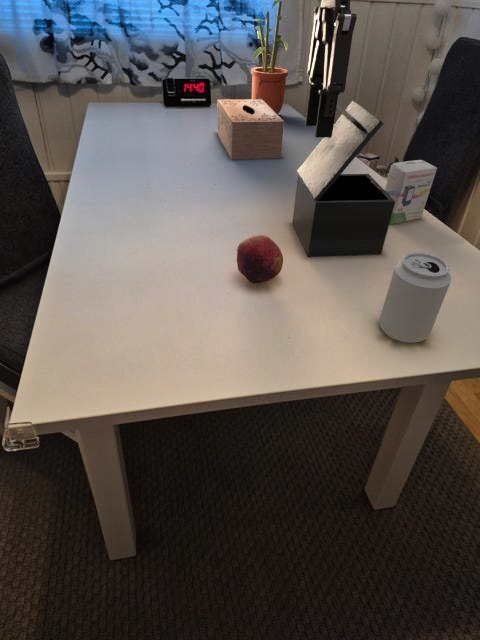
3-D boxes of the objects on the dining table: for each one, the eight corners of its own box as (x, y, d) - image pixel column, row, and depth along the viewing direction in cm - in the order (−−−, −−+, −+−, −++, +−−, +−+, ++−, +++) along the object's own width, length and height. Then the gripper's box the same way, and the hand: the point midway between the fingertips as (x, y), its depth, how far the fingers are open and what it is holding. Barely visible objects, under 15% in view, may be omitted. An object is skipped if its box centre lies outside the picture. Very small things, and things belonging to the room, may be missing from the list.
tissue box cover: (280, 158, 128) (284, 121, 121) (231, 159, 125) (232, 122, 119) (260, 132, 147) (262, 99, 141) (217, 133, 145) (217, 99, 139)
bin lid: (355, 103, 81) (322, 71, 77) (383, 123, 70) (346, 88, 66) (299, 173, 88) (266, 147, 84) (317, 201, 77) (280, 174, 73)
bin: (357, 223, 96) (368, 173, 89) (381, 254, 86) (395, 201, 79) (292, 224, 94) (298, 174, 88) (307, 257, 84) (315, 202, 77)
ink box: (406, 210, 102) (421, 158, 95) (422, 219, 99) (438, 166, 91) (376, 215, 99) (389, 162, 92) (391, 225, 96) (406, 171, 89)
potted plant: (291, 116, 165) (303, 0, 143) (264, 123, 156) (272, 1, 134) (256, 107, 174) (262, -3, 153) (228, 113, 165) (230, -3, 144)
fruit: (283, 272, 79) (288, 231, 74) (276, 296, 73) (281, 253, 68) (241, 265, 80) (242, 225, 76) (230, 288, 75) (232, 246, 70)
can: (432, 350, 64) (461, 280, 57) (379, 342, 65) (400, 273, 58) (424, 318, 70) (449, 251, 63) (376, 312, 71) (395, 245, 63)
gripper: (299, -43, 69) (285, 116, 83) (335, -46, 54) (310, 148, 68) (346, -41, 70) (324, 116, 84) (393, -43, 55) (356, 148, 69)
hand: (317, 130), depth 76 cm, fingers closed on bin lid, 6 cm apart
